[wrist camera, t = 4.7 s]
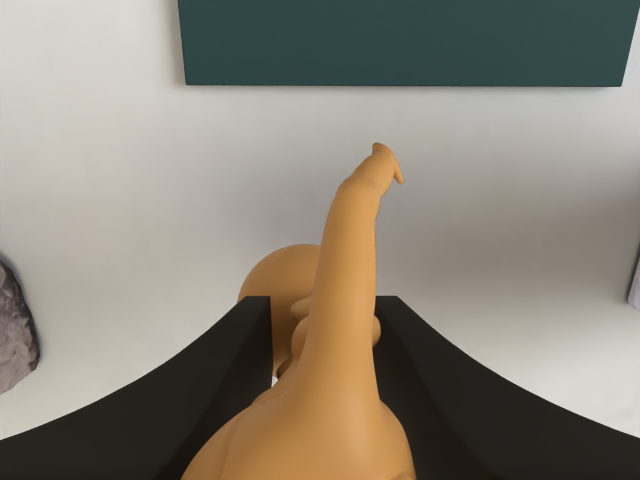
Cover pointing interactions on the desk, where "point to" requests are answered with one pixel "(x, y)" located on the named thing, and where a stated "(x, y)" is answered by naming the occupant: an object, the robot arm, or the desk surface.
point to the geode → (15, 333)
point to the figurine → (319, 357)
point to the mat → (407, 42)
